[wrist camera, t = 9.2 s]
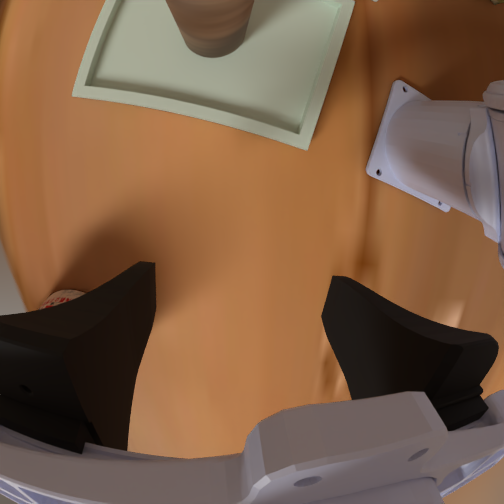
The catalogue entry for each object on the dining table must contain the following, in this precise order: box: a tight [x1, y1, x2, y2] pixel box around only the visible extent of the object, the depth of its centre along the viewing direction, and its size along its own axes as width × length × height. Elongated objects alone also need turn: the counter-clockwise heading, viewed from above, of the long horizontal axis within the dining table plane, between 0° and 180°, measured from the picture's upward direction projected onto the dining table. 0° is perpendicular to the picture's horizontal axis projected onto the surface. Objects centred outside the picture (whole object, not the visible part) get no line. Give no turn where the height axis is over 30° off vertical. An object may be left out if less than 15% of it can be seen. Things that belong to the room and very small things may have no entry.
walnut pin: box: [165, 0, 254, 58], centre depth 11 cm, size 4×4×9 cm
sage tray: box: [72, 0, 355, 151], centre depth 15 cm, size 16×12×2 cm
